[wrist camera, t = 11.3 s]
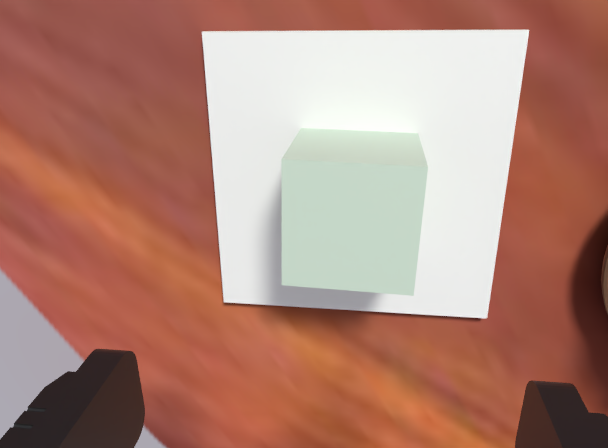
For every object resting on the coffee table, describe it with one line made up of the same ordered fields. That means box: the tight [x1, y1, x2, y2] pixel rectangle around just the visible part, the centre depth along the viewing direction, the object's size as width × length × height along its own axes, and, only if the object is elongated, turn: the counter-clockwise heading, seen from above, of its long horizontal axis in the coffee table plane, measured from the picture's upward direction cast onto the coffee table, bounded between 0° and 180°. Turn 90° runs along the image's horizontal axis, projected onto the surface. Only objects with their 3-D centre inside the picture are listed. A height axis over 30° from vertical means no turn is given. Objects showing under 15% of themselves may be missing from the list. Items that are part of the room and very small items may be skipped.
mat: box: [202, 30, 529, 318], centre depth 24 cm, size 13×13×1 cm
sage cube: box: [281, 128, 428, 296], centre depth 21 cm, size 5×5×5 cm
